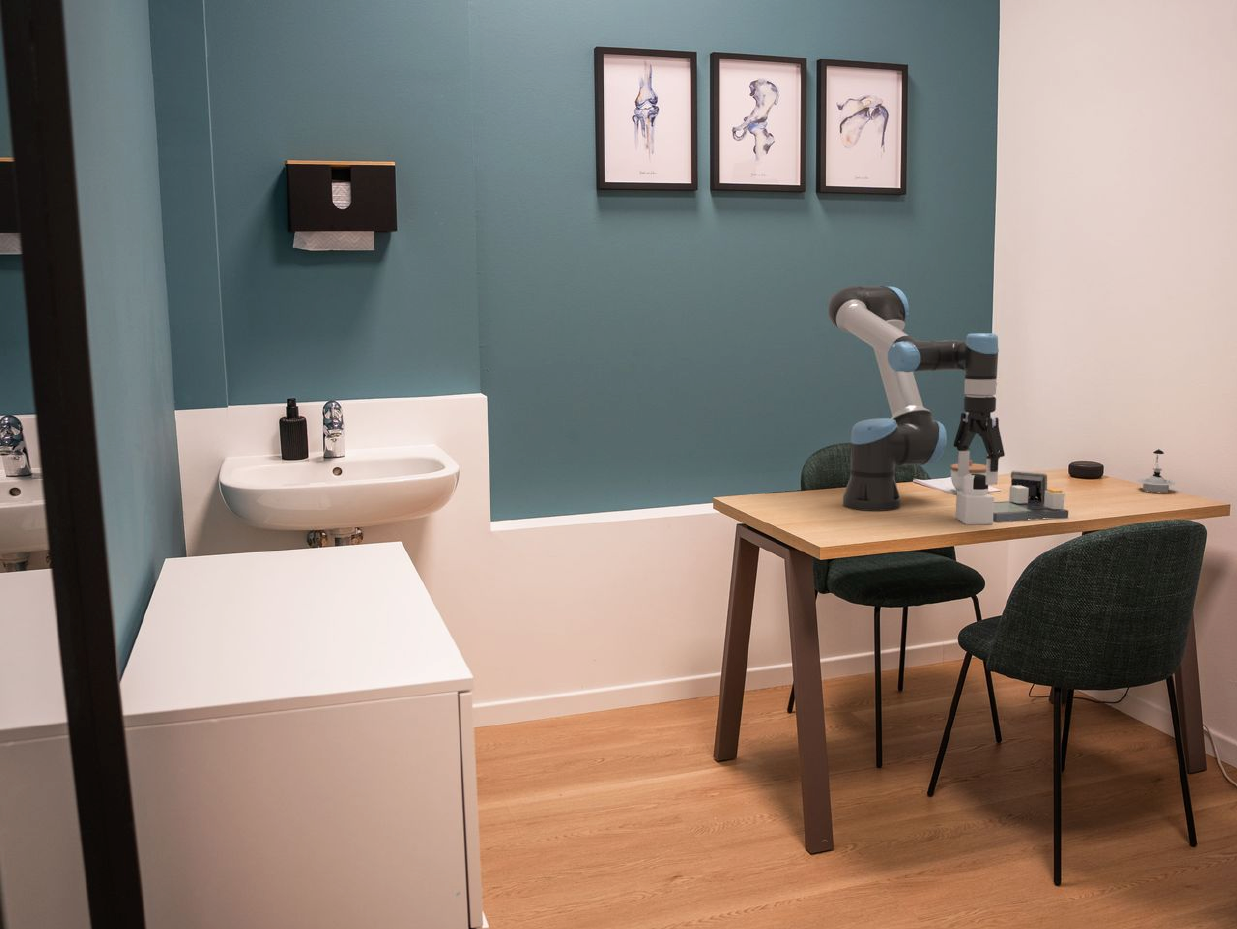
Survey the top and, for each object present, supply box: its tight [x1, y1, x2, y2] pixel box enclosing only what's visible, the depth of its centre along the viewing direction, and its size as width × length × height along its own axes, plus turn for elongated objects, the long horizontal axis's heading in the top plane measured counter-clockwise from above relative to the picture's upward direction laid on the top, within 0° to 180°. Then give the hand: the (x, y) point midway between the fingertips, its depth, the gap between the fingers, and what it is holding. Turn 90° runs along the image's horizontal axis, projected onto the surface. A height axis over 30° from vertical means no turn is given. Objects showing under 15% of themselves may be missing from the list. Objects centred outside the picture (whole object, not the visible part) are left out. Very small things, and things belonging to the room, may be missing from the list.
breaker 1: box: [1008, 485, 1029, 504], centre depth 274 cm, size 3×4×4 cm
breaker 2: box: [1044, 488, 1065, 509], centre depth 267 cm, size 3×4×5 cm
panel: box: [993, 500, 1069, 523], centre depth 270 cm, size 20×14×2 cm
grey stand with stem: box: [1136, 449, 1177, 494], centre depth 299 cm, size 12×10×10 cm
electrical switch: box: [1010, 470, 1048, 502], centre depth 282 cm, size 9×5×9 cm, turn 57°
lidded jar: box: [950, 459, 986, 492], centre depth 299 cm, size 11×11×9 cm
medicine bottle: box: [955, 474, 995, 525], centre depth 262 cm, size 7×7×12 cm
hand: (976, 480), depth 261 cm, fingers open, 13 cm apart
